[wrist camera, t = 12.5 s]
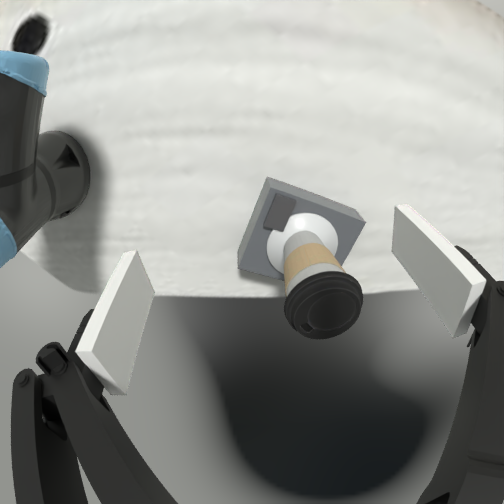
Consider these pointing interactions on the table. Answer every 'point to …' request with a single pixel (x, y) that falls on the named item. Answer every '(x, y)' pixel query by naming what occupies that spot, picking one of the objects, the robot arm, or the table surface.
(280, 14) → the table surface
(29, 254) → the table surface
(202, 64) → the table surface
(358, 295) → the coffee cup
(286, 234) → the grey dome button box
